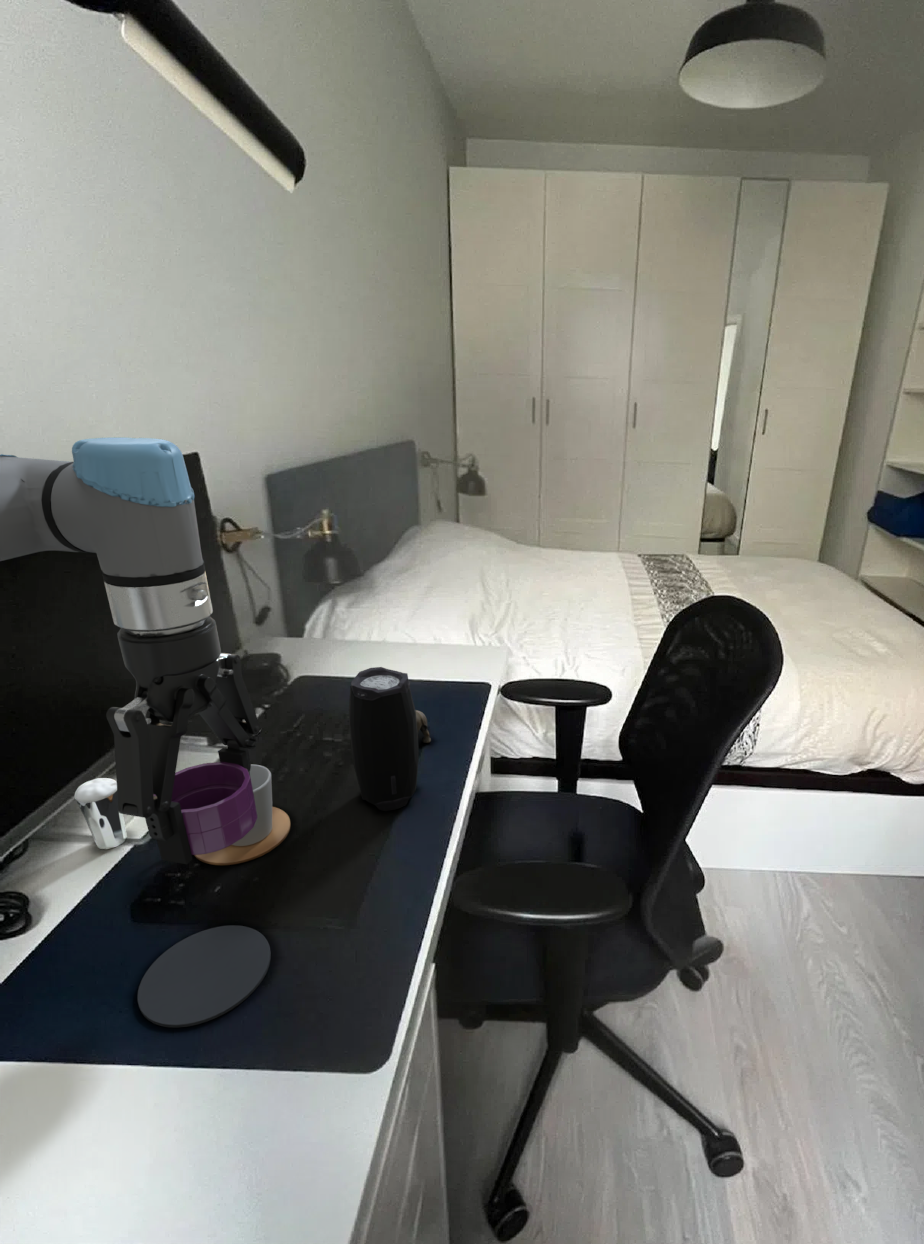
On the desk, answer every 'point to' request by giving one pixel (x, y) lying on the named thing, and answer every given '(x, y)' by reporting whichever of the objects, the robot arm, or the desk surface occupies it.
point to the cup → (260, 805)
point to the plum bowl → (215, 805)
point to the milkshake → (102, 812)
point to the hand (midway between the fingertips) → (211, 828)
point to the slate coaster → (204, 976)
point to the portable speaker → (384, 737)
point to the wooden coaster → (254, 850)
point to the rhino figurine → (422, 726)
